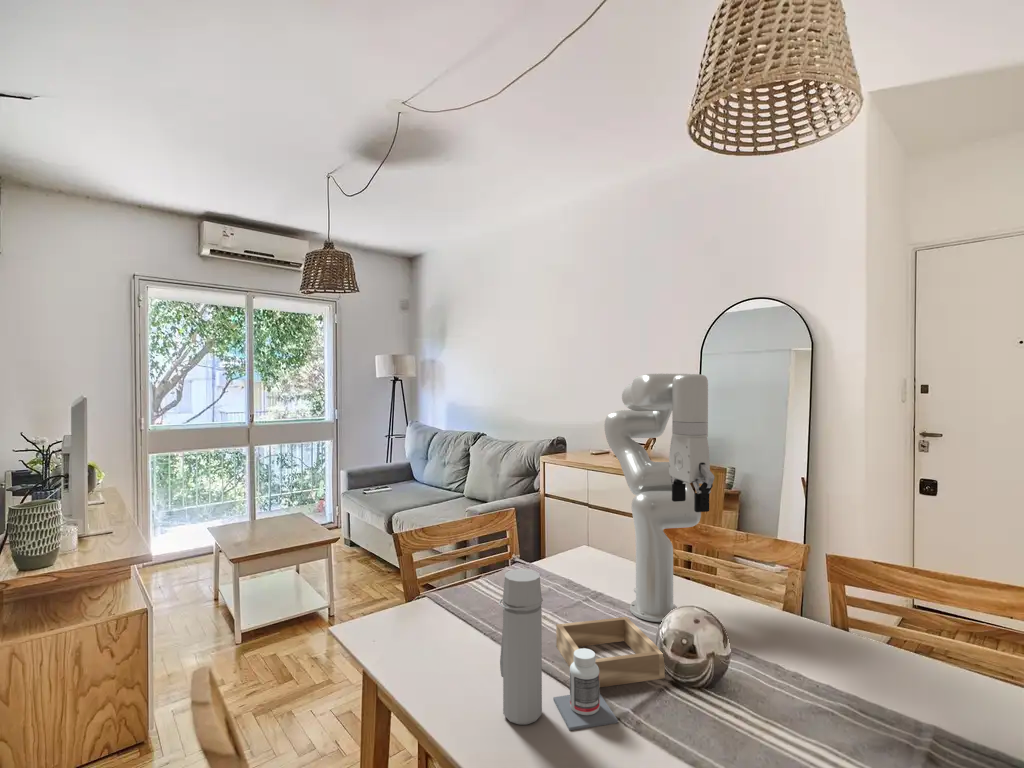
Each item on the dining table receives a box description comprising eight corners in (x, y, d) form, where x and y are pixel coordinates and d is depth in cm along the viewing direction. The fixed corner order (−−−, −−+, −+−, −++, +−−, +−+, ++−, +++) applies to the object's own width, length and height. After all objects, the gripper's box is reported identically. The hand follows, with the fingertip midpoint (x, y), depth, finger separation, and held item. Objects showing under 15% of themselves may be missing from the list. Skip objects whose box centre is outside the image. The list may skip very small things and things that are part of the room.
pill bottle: (605, 709, 93) (605, 655, 93) (583, 720, 90) (583, 664, 90) (585, 695, 98) (585, 643, 98) (563, 704, 95) (563, 651, 95)
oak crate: (556, 646, 117) (556, 624, 117) (626, 638, 121) (626, 616, 121) (583, 689, 100) (583, 663, 100) (664, 678, 104) (664, 653, 104)
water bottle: (552, 713, 93) (551, 574, 93) (521, 734, 87) (521, 586, 88) (516, 692, 99) (515, 562, 100) (485, 710, 94) (485, 573, 94)
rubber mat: (553, 699, 97) (553, 697, 97) (598, 693, 99) (598, 690, 99) (569, 730, 88) (569, 727, 88) (617, 722, 90) (617, 719, 90)
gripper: (656, 426, 122) (656, 498, 123) (695, 433, 105) (695, 517, 106) (685, 425, 124) (685, 496, 124) (728, 433, 107) (728, 515, 107)
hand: (689, 506), depth 115 cm, fingers open, 9 cm apart
